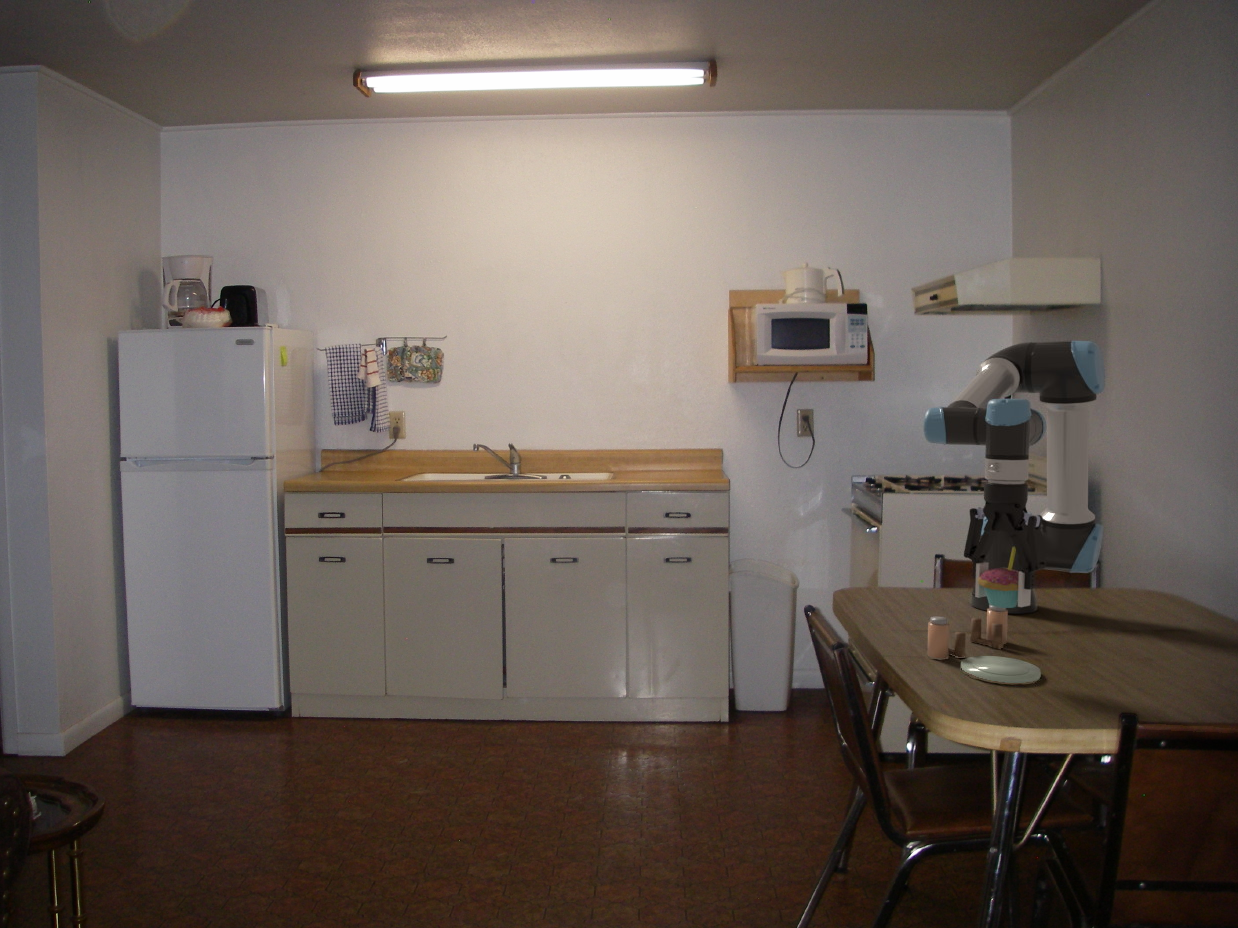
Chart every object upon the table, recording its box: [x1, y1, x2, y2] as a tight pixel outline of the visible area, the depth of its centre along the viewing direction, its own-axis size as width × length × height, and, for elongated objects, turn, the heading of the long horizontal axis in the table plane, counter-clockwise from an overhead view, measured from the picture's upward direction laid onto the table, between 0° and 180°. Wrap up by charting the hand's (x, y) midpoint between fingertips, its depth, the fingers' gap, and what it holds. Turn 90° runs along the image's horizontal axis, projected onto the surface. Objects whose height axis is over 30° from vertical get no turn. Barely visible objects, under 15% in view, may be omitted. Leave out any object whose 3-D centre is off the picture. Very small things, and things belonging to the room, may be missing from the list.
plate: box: [960, 655, 1042, 683], centre depth 171 cm, size 14×14×1 cm
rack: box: [949, 617, 1004, 657], centre depth 186 cm, size 7×14×5 cm, turn 122°
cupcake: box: [978, 546, 1019, 608], centre depth 170 cm, size 9×8×12 cm
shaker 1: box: [926, 616, 950, 658], centre depth 181 cm, size 4×4×8 cm
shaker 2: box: [985, 605, 1009, 646], centre depth 191 cm, size 4×4×8 cm
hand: (1002, 600), depth 170 cm, fingers closed on cupcake, 8 cm apart
